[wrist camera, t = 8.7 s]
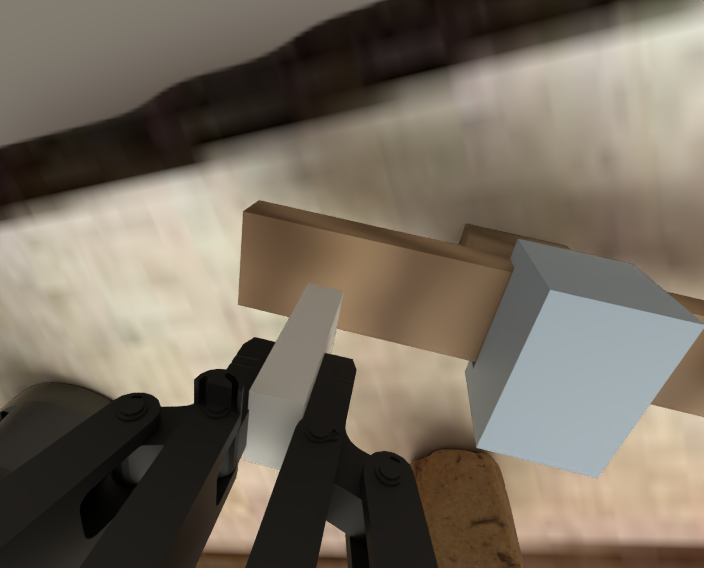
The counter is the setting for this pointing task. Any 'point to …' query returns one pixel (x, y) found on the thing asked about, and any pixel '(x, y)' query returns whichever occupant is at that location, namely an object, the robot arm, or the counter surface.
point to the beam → (407, 285)
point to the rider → (573, 358)
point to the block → (467, 510)
